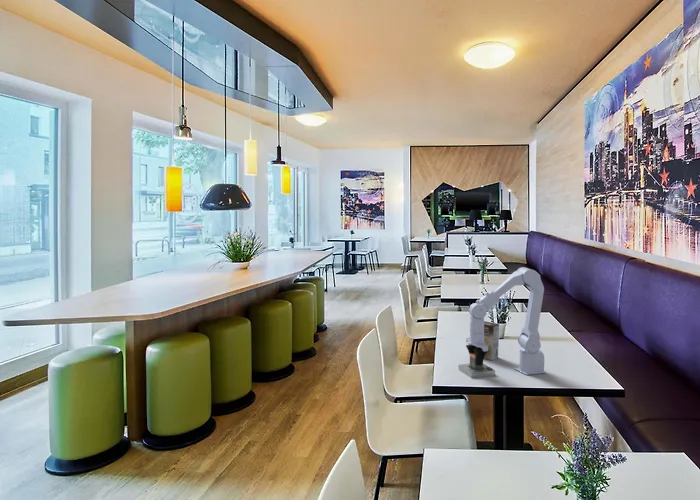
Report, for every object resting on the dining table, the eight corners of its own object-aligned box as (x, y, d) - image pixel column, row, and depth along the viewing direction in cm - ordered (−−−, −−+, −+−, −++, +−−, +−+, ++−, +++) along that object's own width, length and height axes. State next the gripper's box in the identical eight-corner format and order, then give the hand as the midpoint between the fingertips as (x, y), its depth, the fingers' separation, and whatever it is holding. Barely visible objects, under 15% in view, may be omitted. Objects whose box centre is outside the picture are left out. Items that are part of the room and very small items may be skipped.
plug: (478, 366, 205) (478, 352, 205) (483, 369, 201) (483, 355, 201) (469, 367, 204) (469, 353, 204) (474, 370, 200) (474, 356, 200)
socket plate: (481, 366, 210) (481, 361, 209) (495, 375, 199) (495, 369, 199) (458, 369, 207) (458, 363, 207) (471, 377, 196) (471, 372, 196)
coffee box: (474, 356, 225) (474, 322, 223) (480, 353, 229) (481, 320, 228) (492, 360, 218) (493, 326, 217) (499, 357, 223) (499, 323, 222)
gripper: (460, 328, 207) (459, 359, 209) (477, 336, 193) (476, 369, 195) (474, 327, 209) (474, 357, 210) (492, 335, 195) (492, 368, 196)
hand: (476, 363), depth 203 cm, fingers closed on plug, 4 cm apart
